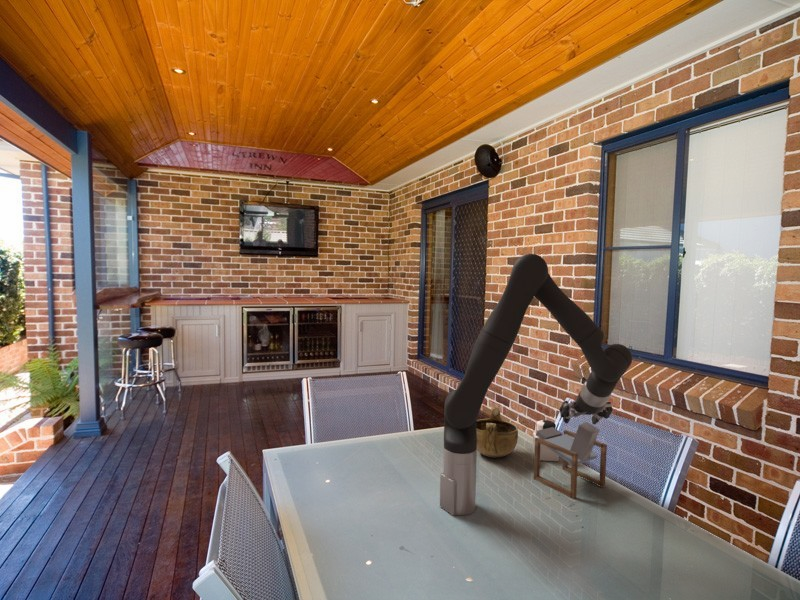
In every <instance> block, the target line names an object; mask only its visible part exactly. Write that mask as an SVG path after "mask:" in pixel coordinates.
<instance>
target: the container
mask: <svg viewBox="0 0 800 600" xmlns="http://www.w3.org/2000/svg"><path fill="white" fill-rule="evenodd" d="M556 425H557V424H556V423H555V422H553V421H551V420H550V419H549V420H548V419H541V420H538V421H537V422H536V431H533V433H532V455H534V457H535V438H539V437H538V436H536V432H537V431H538V430H542V429H546V428H550V427H554V428H555V429H557V428H556V427H557V426H556ZM559 457H560V456H559V455H557V454H556V453H555V452H553V451H552V450H551V449H550V448H548V447H547V446H545V445H543V444H541V443H540V461H546V462H559Z"/></svg>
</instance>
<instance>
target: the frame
mask: <svg viewBox="0 0 800 600" xmlns="http://www.w3.org/2000/svg"><path fill="white" fill-rule="evenodd" d="M563 434H568V435H569V436H570V437H572V438H573V439H574V438H575V435H576V433H575V432H572V431H570V430H567V429H565V430H563ZM540 443H541V444H543V445H545V446H548V447H550V448H553V449H555V450H558V451H560V452H562V453H565V454H567V455H570V456H572V463H571V464H570V466H569V463H568V462H567V461H565V460H564V459H563V458H562V470H563V471H565V472H567V471H568V472H567V473H569V472H570V473H569V474H570V490H569V489H567V488H565V487H563V486H561V485H558V484H557V483H555V482H553V481H551V480H549V479H546V478H545V477H542V476H540V472H541V471H540V468H541V465H540V464H541V460H540ZM594 446H596V447H599V448H600V459H599V460H600V462H599V479H596V478H594V477H592V476H590V475H588V474H585V473H583V472H581V471H578V466H579V464H578V453H575V452H573V451H570V450H568V449H565V448H563V447H560V446H558V445H555V444H553V443H550V442H548V441H545V440H543V439H540V438H535V456H534V458H533V460H534V461H533V462H534V463H533V467H534V468H533V480H535V481H537V482H539V483H542V484H543V485H545V486H547V487H549V488H551V489H553V490H555V491H557V492H559V493H561V494H563V495H565V496H566V497H569V498H571V499H573V500H575V499H577V493H578V492H577V491H578V490H577V489H578V487H577V486H578V476H580V477H583V478H585V479H587V480H589V481H591V482H594V483H596V484H598V485H600V486H602V487H603V488H605V487H606V475H607V474H606V473H607V451H608V450H607V449H608V445H607V444H606V443H603V442H600V441H597V440H596V441H595V444H594ZM580 477H579V478H580ZM587 480H586V481H587ZM589 481H588V482H589ZM591 482H590V483H591ZM596 484H595V485H596ZM598 485H597V486H598ZM600 486H599V487H600ZM604 486H605V487H604ZM602 487H601V488H602Z"/></svg>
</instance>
